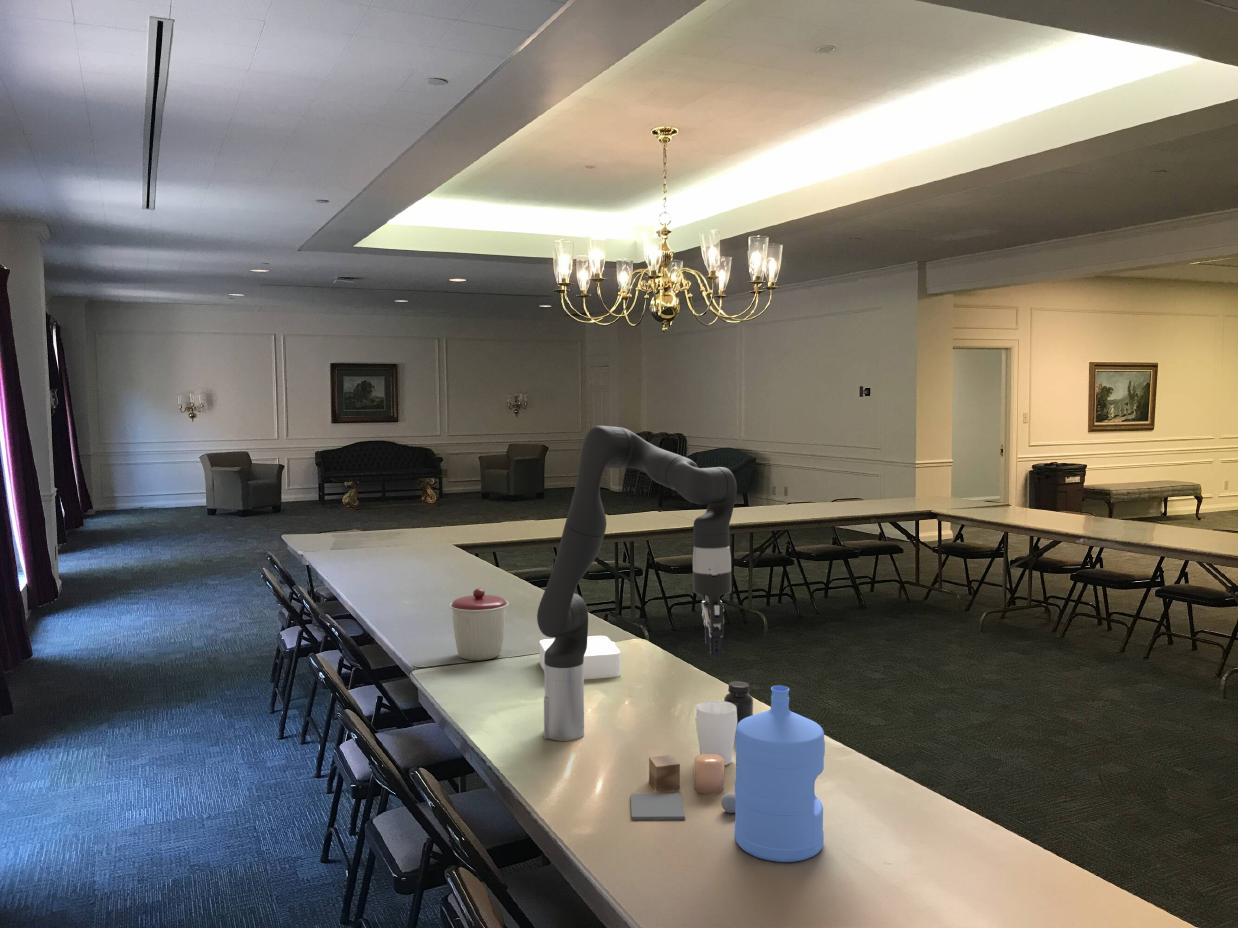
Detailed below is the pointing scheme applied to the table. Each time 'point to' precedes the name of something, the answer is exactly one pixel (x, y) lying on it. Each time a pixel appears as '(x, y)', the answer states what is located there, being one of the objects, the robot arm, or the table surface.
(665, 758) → the walnut block
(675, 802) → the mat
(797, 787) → the water jug
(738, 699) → the supplement bottle
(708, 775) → the peach rounded capsule
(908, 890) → the table surface
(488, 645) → the canister
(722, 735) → the cup
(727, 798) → the grey ball
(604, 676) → the projector
